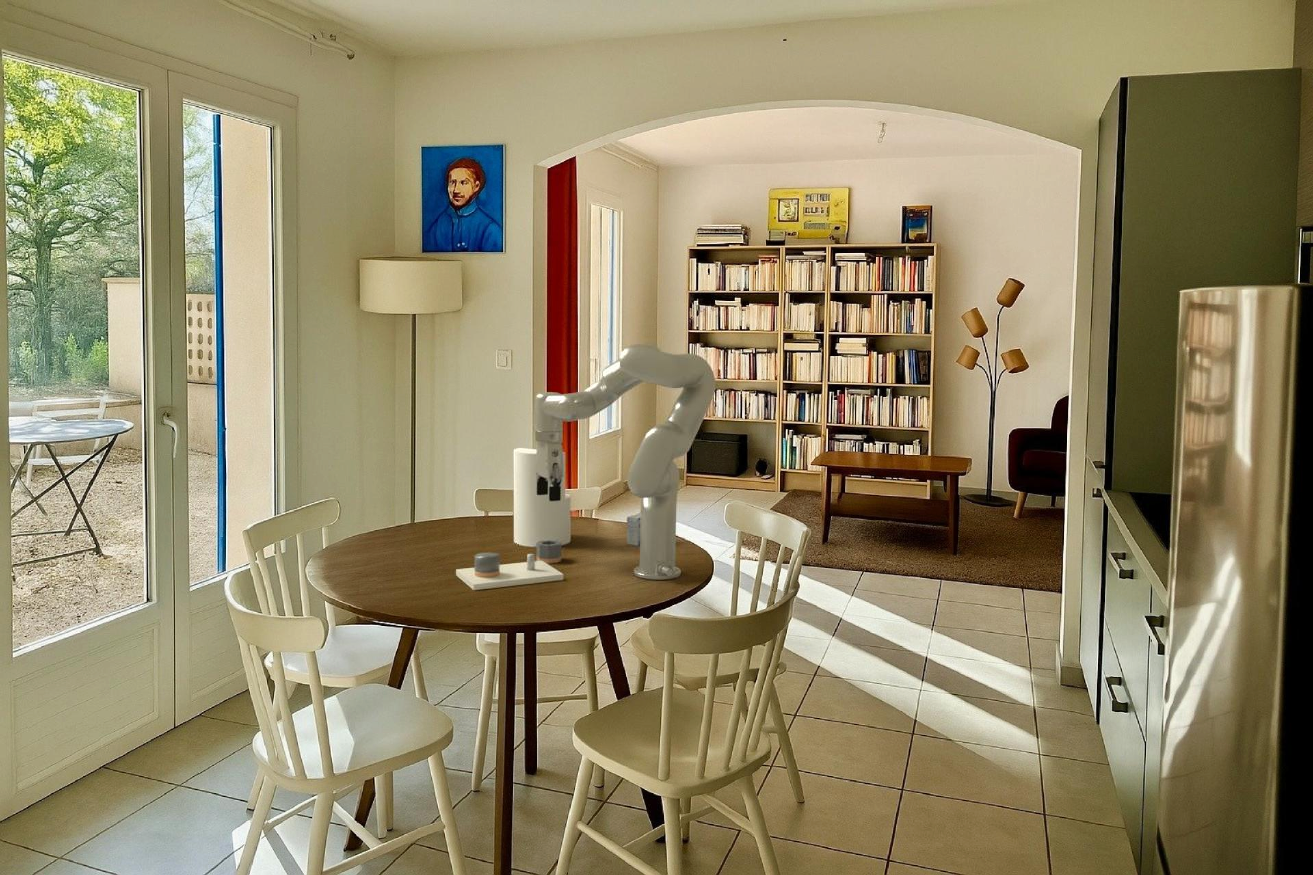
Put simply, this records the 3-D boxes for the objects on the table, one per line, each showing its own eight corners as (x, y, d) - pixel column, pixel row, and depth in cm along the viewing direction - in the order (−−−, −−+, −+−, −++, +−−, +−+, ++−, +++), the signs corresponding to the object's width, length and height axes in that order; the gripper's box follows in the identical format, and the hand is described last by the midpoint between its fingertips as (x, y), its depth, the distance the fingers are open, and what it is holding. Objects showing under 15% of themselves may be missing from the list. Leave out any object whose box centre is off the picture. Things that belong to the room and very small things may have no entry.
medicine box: (637, 546, 295) (638, 518, 294) (626, 544, 298) (626, 516, 297) (653, 542, 301) (654, 514, 300) (642, 539, 304) (642, 512, 303)
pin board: (563, 579, 256) (563, 555, 256) (473, 590, 246) (473, 564, 245) (541, 565, 270) (541, 542, 270) (456, 574, 260) (455, 550, 259)
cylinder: (547, 549, 289) (547, 455, 286) (502, 542, 298) (501, 450, 295) (581, 539, 304) (582, 449, 301) (537, 532, 313) (537, 444, 310)
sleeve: (563, 561, 275) (563, 544, 275) (542, 564, 272) (542, 546, 272) (555, 556, 281) (555, 539, 280) (534, 558, 278) (534, 541, 278)
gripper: (573, 440, 267) (572, 502, 269) (550, 432, 282) (550, 491, 284) (547, 441, 263) (546, 504, 265) (525, 433, 279) (525, 493, 281)
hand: (548, 497), depth 275 cm, fingers open, 9 cm apart
